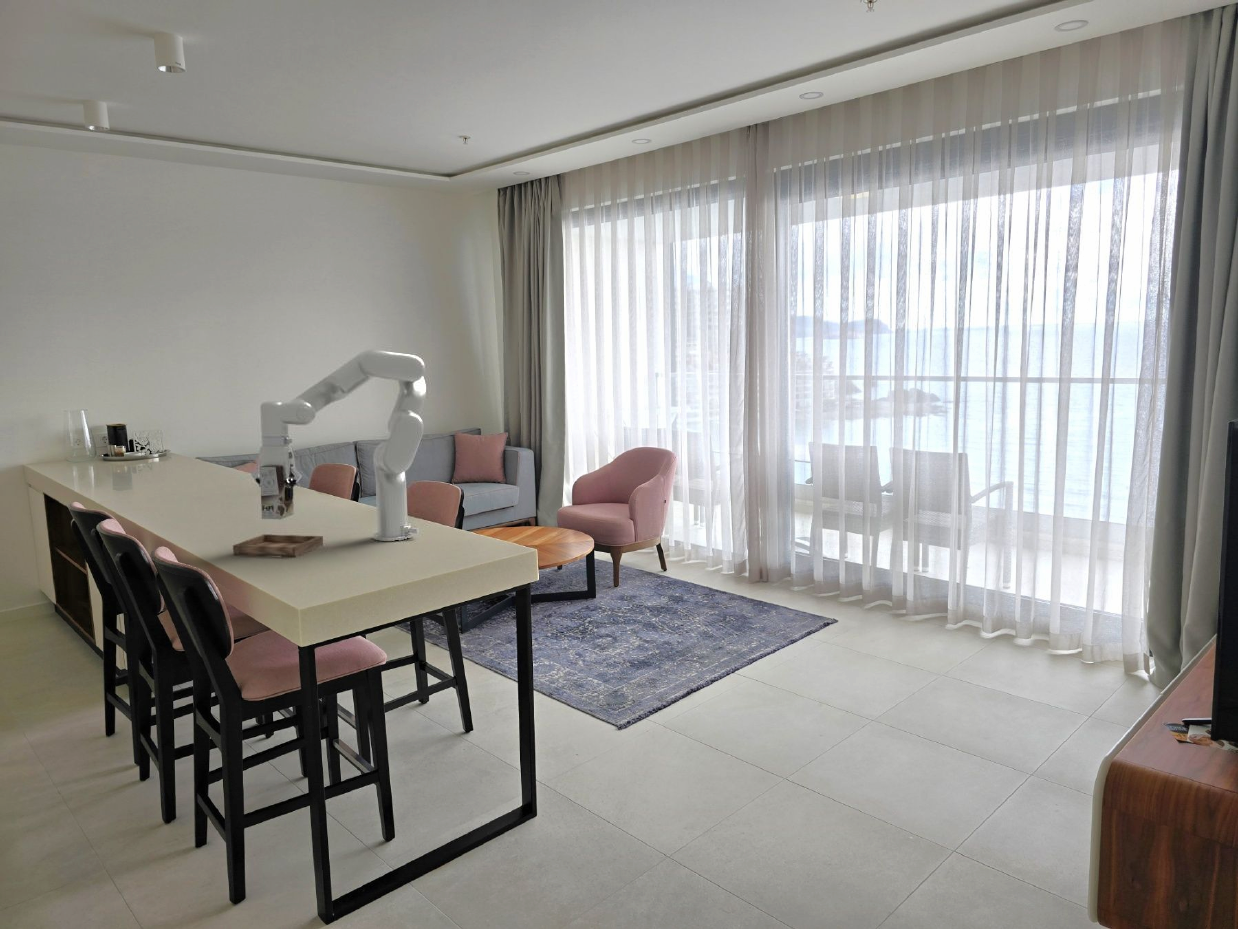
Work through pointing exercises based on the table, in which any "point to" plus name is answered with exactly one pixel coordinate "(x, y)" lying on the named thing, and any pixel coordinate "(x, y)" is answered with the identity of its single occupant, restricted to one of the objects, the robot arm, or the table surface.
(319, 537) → the tray
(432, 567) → the table surface
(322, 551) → the table surface
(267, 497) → the coffee box
